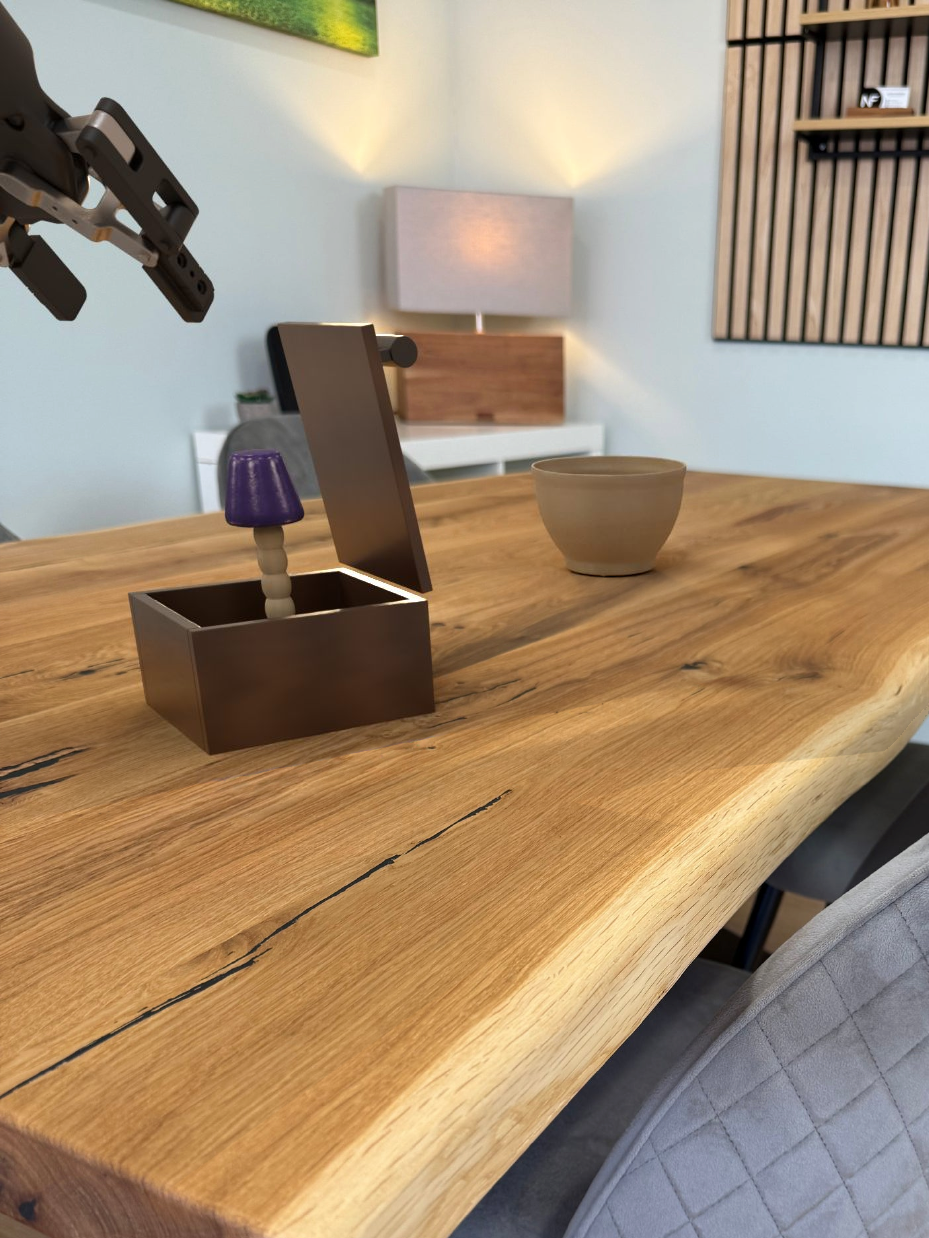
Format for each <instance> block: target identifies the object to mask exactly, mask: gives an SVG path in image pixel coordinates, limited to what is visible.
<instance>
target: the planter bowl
mask: <svg viewBox="0 0 929 1238" xmlns="http://www.w3.org/2000/svg"><path fill="white" fill-rule="evenodd" d="M531 475H532V479H533V481H534V493H535V500H536V505H537V509H538V512H539V515H540V518H541V520H542V523H543V525H544V528H545V530H546V531H547V533H548V535H549V537H550V538H551V540H552V542H553V543H554V545H555V546H556V547H557V549H558V550H559V552H561V554H562V555H563V557H564V563H565V568H567V570H569V571H572V572H574V573H578V574H583V575H592V576H601V577H607V576H628V575H636V574H642V573H646V572H649V571H650V570H652V569H654V568H655V564H656V560H657V555H658V554H659V552H660V551H661V549H663V547H664V545H665V544H666V542H667V541H668V539H669V538H670V535H671V534H672V532H673V529H674V527H675V525H676V522H677V519H678V517H679V513H680V511H681V506H682V501H683V496H684V495H683V494H684V481H685V478H686V475H687V464H686V463H685V462H684V461H680V460H678V459H677V460H676V459H671V458H663V457H658V456H646V455H645V456H643V455H619V454H618V455H613V454H612V455H609V454H608V455H607V454H606V455H581V456H580V455H579V456H566V457H555V458H554V457H553V458H548V459H542V460H538V461H535V462H533V463H532V464H531Z"/></svg>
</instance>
